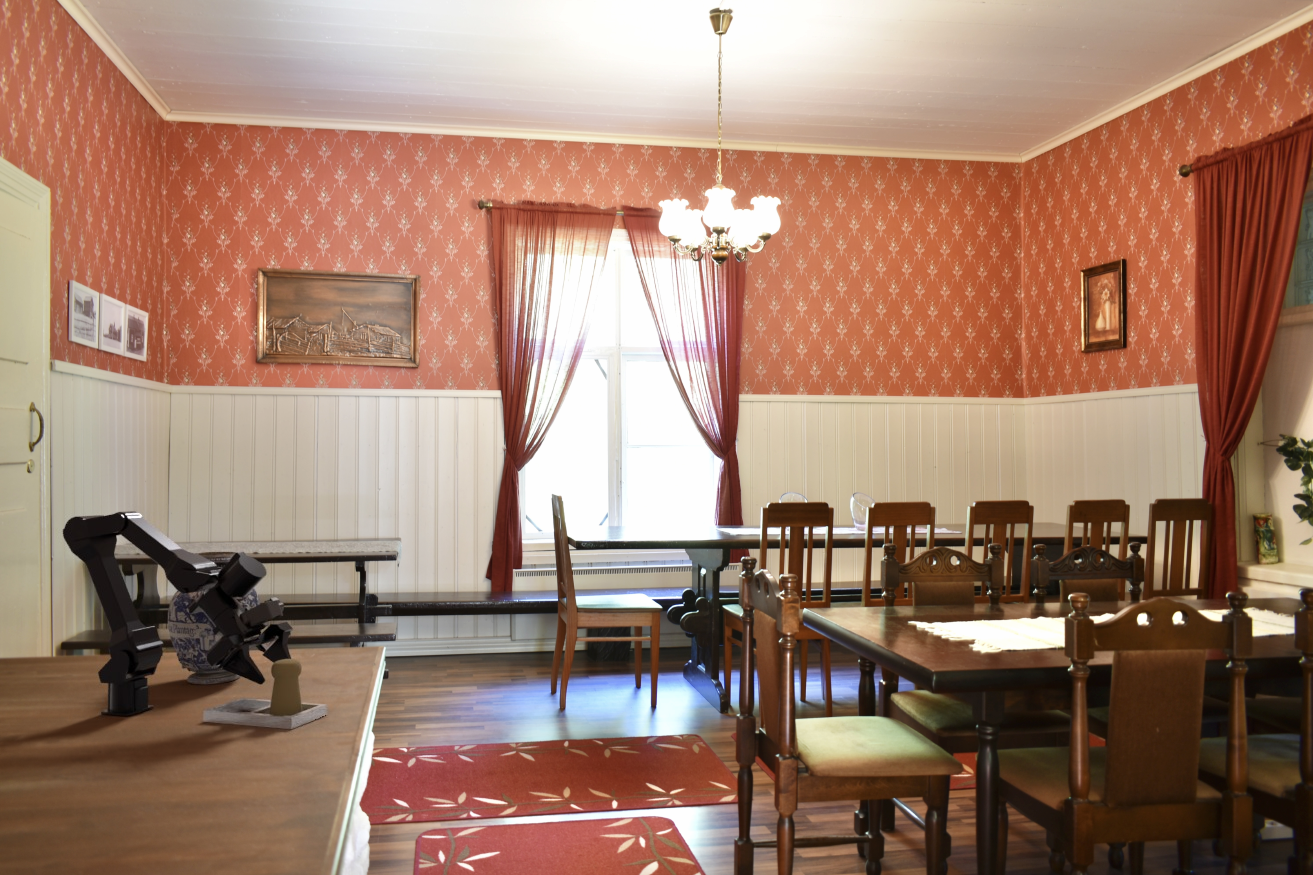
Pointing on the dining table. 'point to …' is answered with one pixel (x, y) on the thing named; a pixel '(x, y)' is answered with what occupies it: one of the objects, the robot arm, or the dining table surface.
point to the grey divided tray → (261, 714)
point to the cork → (286, 688)
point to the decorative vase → (200, 630)
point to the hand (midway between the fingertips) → (278, 677)
